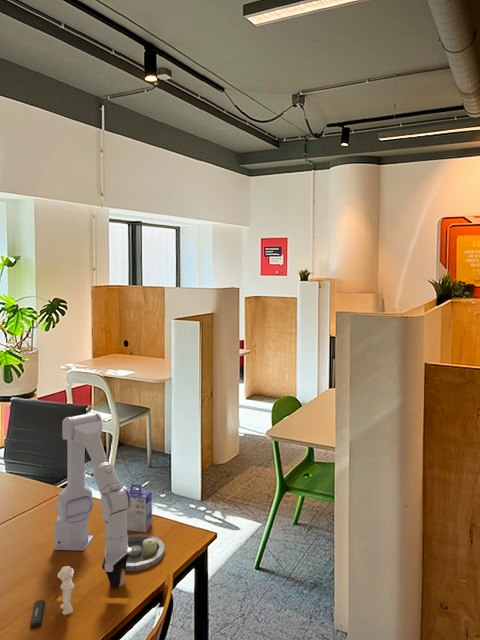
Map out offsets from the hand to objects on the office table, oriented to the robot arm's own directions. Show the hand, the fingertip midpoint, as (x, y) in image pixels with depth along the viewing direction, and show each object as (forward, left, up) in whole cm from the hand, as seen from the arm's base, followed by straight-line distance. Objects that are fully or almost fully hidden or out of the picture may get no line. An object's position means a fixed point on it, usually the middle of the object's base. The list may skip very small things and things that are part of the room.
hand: (117, 581), depth 142 cm
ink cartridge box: (-3, +30, -2) cm, 30 cm away
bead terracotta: (0, 0, -1) cm, 1 cm away
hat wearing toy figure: (-10, -10, -2) cm, 14 cm away
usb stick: (-16, -13, -2) cm, 21 cm away
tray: (+1, +14, -1) cm, 14 cm away
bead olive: (+5, +14, 0) cm, 15 cm away
